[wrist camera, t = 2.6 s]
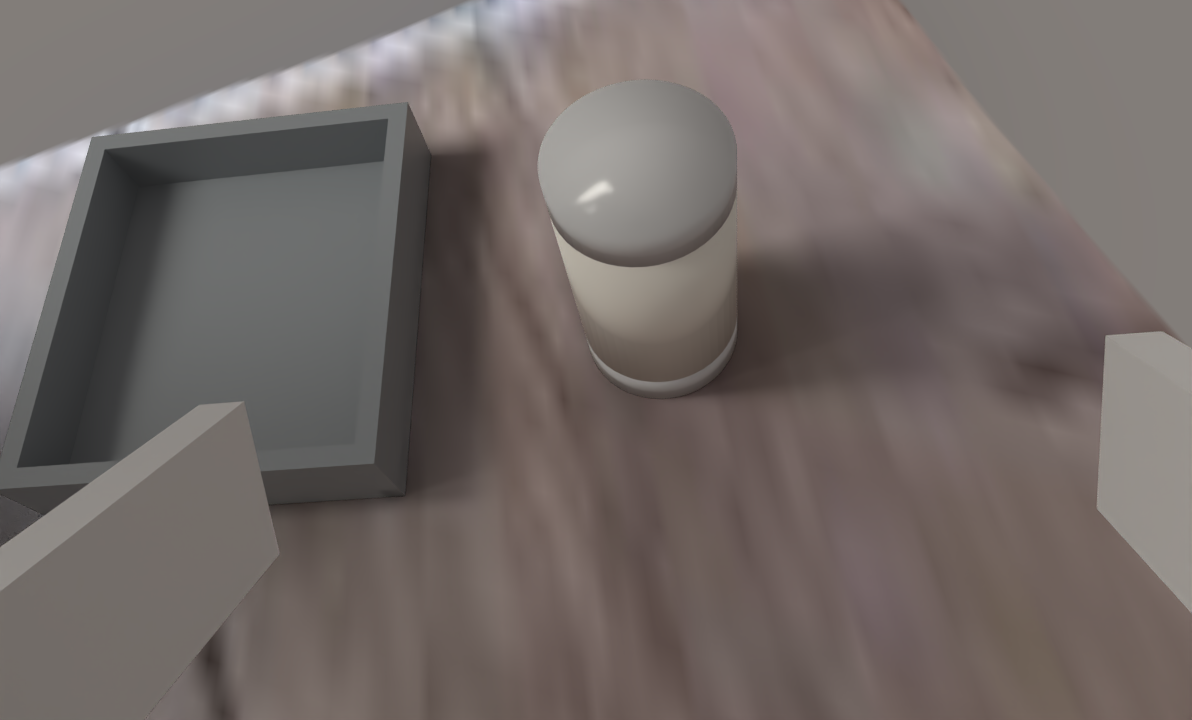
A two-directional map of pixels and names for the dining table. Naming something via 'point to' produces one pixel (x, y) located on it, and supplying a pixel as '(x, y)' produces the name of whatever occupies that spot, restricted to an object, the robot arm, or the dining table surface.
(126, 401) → the parts tray
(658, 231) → the grey lidded jar
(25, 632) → the robot arm
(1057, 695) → the dining table surface
